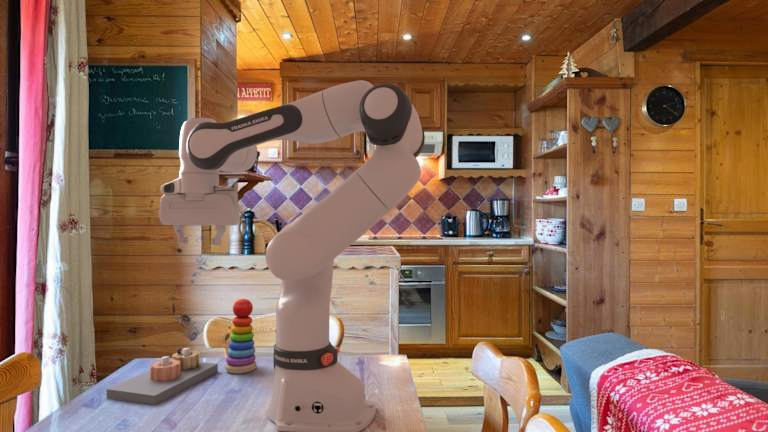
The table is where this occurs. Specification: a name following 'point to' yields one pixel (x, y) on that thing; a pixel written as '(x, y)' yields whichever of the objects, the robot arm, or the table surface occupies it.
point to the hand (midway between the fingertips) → (199, 244)
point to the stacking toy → (241, 340)
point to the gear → (187, 359)
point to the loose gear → (165, 370)
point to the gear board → (160, 383)
